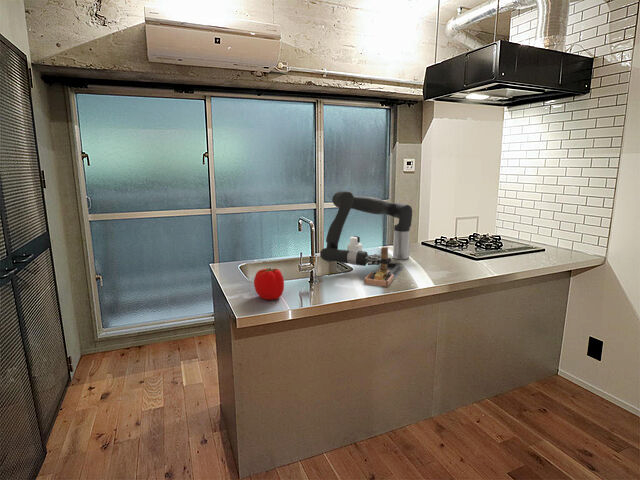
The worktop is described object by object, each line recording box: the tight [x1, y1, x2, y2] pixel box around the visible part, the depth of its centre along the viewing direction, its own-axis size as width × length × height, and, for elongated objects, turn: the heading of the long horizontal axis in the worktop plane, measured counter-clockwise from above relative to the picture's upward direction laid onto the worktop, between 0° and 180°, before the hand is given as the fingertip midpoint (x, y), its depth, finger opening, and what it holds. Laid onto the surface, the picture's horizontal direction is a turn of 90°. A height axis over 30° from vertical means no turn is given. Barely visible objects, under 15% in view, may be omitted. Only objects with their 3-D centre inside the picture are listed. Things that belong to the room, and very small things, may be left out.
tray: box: [363, 271, 395, 288], centre depth 190 cm, size 13×12×3 cm
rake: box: [380, 246, 390, 279], centre depth 197 cm, size 7×5×15 cm
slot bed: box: [372, 262, 404, 280], centre depth 206 cm, size 22×13×3 cm, turn 157°
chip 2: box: [374, 273, 386, 281], centre depth 190 cm, size 4×4×4 cm
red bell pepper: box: [253, 267, 285, 301], centre depth 170 cm, size 16×14×14 cm
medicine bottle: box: [346, 235, 363, 251], centre depth 243 cm, size 7×7×12 cm
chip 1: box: [377, 270, 387, 281], centre depth 194 cm, size 4×4×4 cm
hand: (389, 261), depth 196 cm, fingers closed on rake, 3 cm apart
